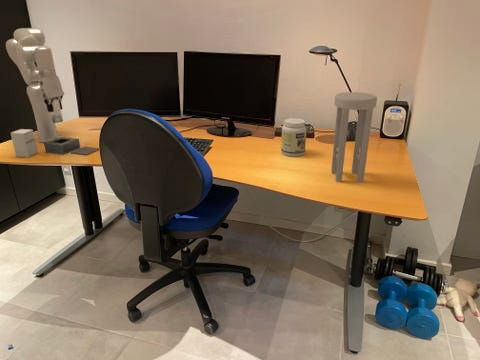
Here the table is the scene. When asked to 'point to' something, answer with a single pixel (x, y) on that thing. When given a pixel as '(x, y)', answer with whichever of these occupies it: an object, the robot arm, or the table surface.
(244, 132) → the table surface
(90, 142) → the table surface
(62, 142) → the housing
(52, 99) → the cover plug
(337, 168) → the stool
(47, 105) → the robot arm
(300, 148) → the supplement tub
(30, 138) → the supplement box
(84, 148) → the mat
